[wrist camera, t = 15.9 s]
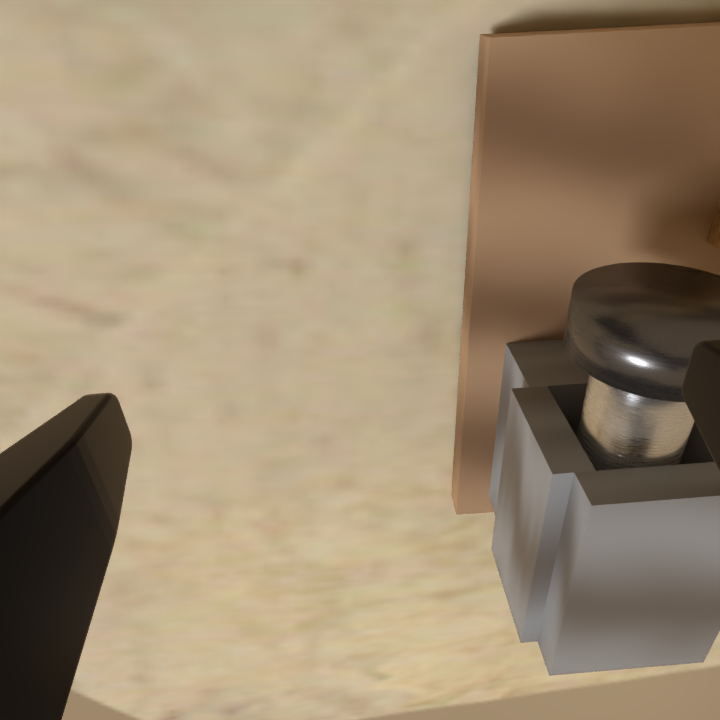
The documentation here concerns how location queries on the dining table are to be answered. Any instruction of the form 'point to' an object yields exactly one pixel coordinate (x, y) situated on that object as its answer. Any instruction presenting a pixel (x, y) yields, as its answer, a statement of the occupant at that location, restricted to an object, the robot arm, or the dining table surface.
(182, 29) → the dining table surface
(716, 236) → the frame
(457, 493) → the shaft stand
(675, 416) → the shaft
